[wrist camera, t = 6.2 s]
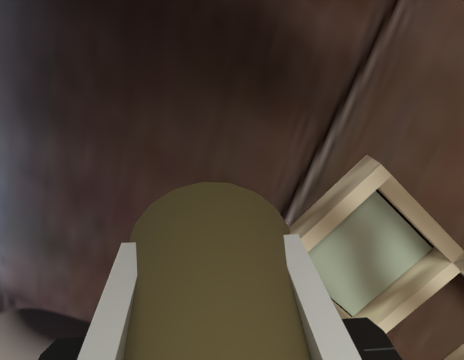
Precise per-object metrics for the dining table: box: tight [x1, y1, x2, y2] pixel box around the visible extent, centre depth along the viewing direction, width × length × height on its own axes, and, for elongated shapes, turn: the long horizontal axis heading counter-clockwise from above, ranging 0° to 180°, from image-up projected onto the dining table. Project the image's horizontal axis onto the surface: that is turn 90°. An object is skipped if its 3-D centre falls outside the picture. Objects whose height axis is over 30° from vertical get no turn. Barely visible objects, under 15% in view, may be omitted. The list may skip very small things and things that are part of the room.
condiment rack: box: [289, 155, 464, 360], centre depth 33 cm, size 11×22×2 cm, turn 46°
